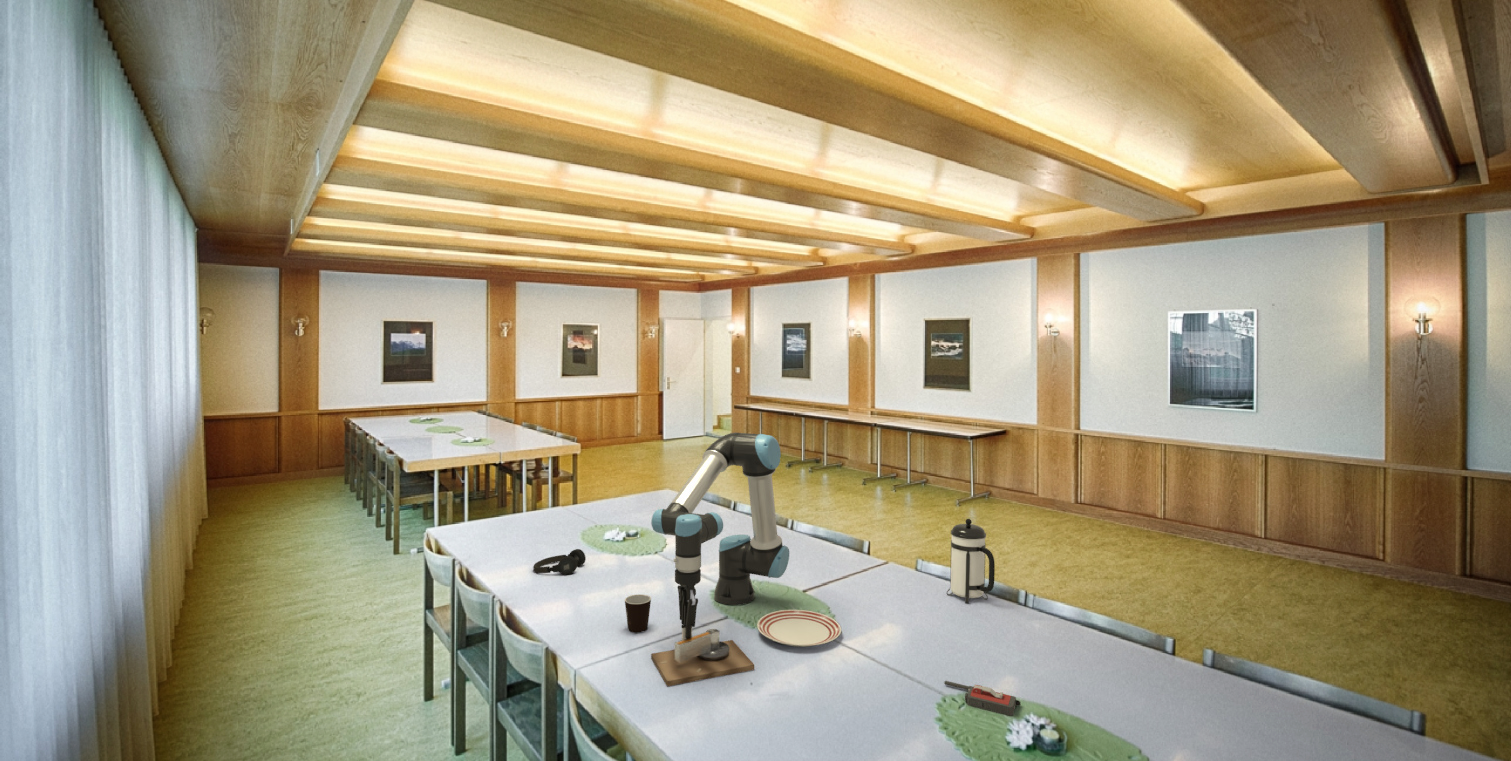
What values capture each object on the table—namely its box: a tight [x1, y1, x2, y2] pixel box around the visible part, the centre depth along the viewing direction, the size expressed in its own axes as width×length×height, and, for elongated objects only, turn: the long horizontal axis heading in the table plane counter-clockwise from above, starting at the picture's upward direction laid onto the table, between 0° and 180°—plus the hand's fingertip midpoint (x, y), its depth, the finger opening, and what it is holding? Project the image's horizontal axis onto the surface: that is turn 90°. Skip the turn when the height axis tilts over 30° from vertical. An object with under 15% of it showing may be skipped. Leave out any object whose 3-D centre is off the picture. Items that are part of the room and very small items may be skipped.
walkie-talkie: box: [943, 680, 1021, 717], centre depth 175 cm, size 9×4×20 cm
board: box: [650, 639, 755, 687], centre depth 194 cm, size 26×18×2 cm
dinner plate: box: [756, 609, 842, 648], centre depth 216 cm, size 28×27×3 cm
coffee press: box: [946, 518, 996, 604], centre depth 249 cm, size 17×16×30 cm
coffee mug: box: [624, 594, 652, 634], centre depth 220 cm, size 12×9×10 cm
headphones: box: [532, 548, 586, 576], centre depth 279 cm, size 17×8×20 cm
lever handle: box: [674, 628, 729, 663], centre depth 195 cm, size 18×10×7 cm, turn 132°
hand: (686, 647), depth 194 cm, fingers closed
